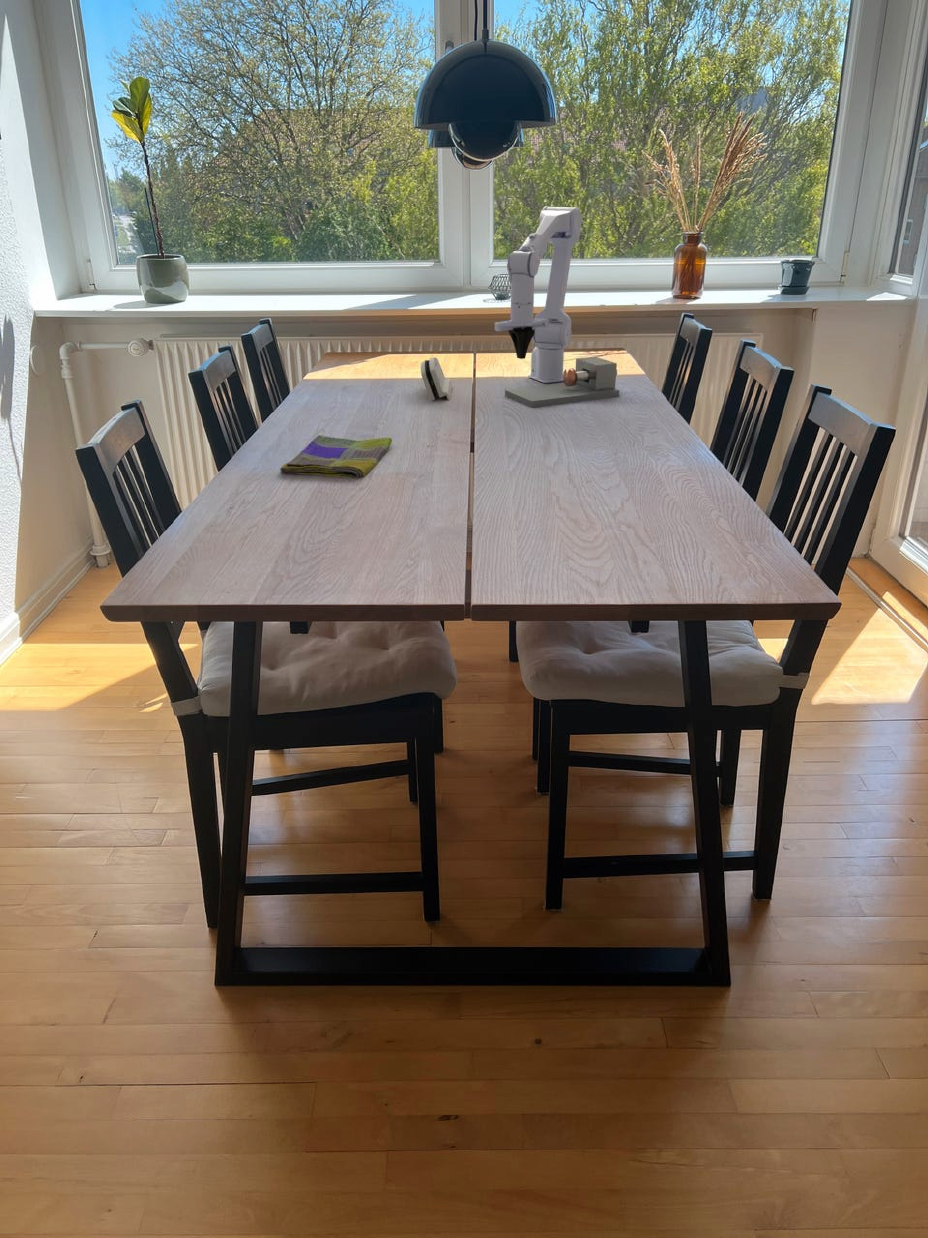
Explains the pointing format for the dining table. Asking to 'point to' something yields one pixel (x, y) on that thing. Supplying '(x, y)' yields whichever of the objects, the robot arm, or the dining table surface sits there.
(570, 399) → the base plate
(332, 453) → the dish towel
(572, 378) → the shaft
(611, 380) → the bearing block
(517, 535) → the dining table surface
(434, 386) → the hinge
